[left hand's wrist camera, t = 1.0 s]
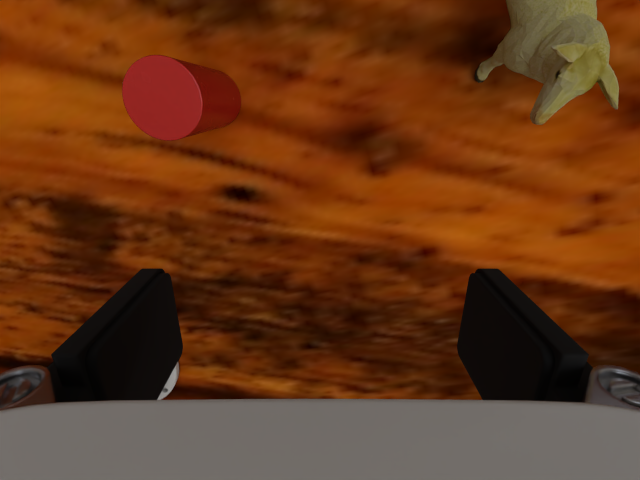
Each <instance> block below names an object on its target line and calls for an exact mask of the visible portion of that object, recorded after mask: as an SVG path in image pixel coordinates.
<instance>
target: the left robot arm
mask: <svg viewBox="0 0 640 480" xmlns="http://www.w3.org/2000/svg"><path fill="white" fill-rule="evenodd" d="M182 349H183V344H182V338H181V332H180V327H179V321H178V315H177V310H176V304H175V298H174V293H173V287H172V281H171V277H170V275H169V274H168V273H165V272H164V270H163V269H141V270H140V271H139V272H138V273H137V274H136V275H135V276H134V277H133V278H132V279H131V280H129V281H128V282H127V283H126V284H125V285H124V286H123V287H122V288H121V289H120V290H119V291H118V292H117V293H116V294H115V295H114V296H113V297H112V298H110V299H109V300H108V301H107V302H106V303H105V304H104V305H103V306H102V307H101V308H100V309H99V310H98V311H97V312H96V313H95V314H94V315H93V316H91V317H90V318H89V319H88V320H87V321H86V322H85V323H84V324H83V325H82V326H81V327H80V328H79V329H78V330H77V331H76V332H75V333H74V334H72V335H71V336H70V337H69V338H68V339H67V340H66V341H65V342H64V343H63V344H62V345H61V346H60V347H59V348H58V349H57V350H56V351H55V352H53V353H52V354H51V355H52V358H53V362H52V363H51V364H50V365H49V366H48V367H47V368H45V367H43V366H38V365H29V366H22V367H18V368H14V369H11V370H8V371H5V372H3V373H1V374H0V480H640V374H639V373H637V372H635V371H632V370H629V369H626V368H622V367H618V366H611V365H602V366H597V367H595V368H593V367H592V366H591V365H590V364H589V363H588V362H587V358H588V355H589V354H588V353H587V352H585V351H584V350H583V349H582V348H581V347H580V346H579V345H578V344H577V343H576V342H575V341H574V340H573V339H572V338H571V337H570V336H569V335H568V334H566V333H565V332H564V331H563V330H562V329H561V328H560V327H559V326H558V325H557V324H556V323H555V322H554V321H553V320H552V319H551V318H550V317H549V316H547V315H546V314H545V313H544V312H543V311H542V310H541V309H540V308H539V307H538V306H537V305H536V304H535V303H534V302H533V301H532V300H531V299H530V298H528V297H527V296H526V295H525V294H524V293H523V292H522V291H521V290H520V289H519V288H518V287H517V286H516V285H515V284H514V283H513V282H512V281H511V280H509V279H508V278H507V277H506V276H505V275H504V274H503V273H502V272H501V271H500V270H499V269H477V270H476V272H475V273H472V274H471V275H470V277H469V281H468V287H467V293H466V298H465V304H464V310H463V315H462V321H461V327H460V332H459V338H458V344H457V349H458V354H459V357H460V359H461V360H462V362H463V364H464V366H465V368H466V370H467V372H468V373H469V375H470V377H471V379H472V381H473V383H474V384H475V386H476V388H477V390H478V392H479V394H480V395H481V397H482V399H483V400H409V399H223V400H161V399H162V398H164V397H166V396H167V395H168V394H169V393H170V392H171V390H172V389H173V387H174V385H175V384H176V381H177V379H178V375H179V363H178V360H179V359H180V357H181V354H182Z"/></svg>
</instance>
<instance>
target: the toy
mask: <svg viewBox="0 0 640 480" xmlns="http://www.w3.org/2000/svg"><path fill="white" fill-rule="evenodd" d="M506 3H507V8H508V12H509V16H510V21H511V28H510V31H509V32H508V33H507V35H506V36H505V37H504V40H503V41H502V42H501V43H500V44H499V45H498V48H497V50H496V51H495V53H494V55H493V56H492V57H491V58H489V59H488V60H486V61H484V62H482V63H481V64H480V65H479V67H478V68H477V70H476V73H475V80H476V81H477V82H478V83H480V82H483V81H484V80H485V79H486V78H487V76H488V74H489V73H490V71H491V70H493V68H494V67H496V66H500V65H502V64H505V65H506V67H507V68H508V69H510V70H512V71H514V72H517V73H521V74H523V75H525V76H527V77H530V78H533V79H535V80H537V81H539V82H541V83H543V84H544V85H543V87H542V89H541V91H540V94H539V96H538V98H537V100H536V102H535V104H534V107H533V109H532V111H531V114H530V119H531V121H532V123H534V124H539V125H542V124H544V123H545V122H546V121H547V120H548V119H549V118H550V117H551V116H552V115H553V114H554V113H555V112H557V111H558V110H559V109H560V108H561V107H563V106H564V105H565V104H566V103H567V102H569V101H570V100H571V99H573V98H574V97H576V96H577V95H581V94H584V93H585V92H586V91H588V90H589V89H591V88H592V86H593V85H594V84H595V83H596V82H598V84H599V86H600V88H601V90H602V92H603V94H604V95H605V97H606V99H607V100H608V102H609V103H610V105H611V106H612V107H613V108H615V109H618V93H619V86H618V82H617V78H616V76H615V74H614V72H613V70H612V68H611V67H610V65H609V64H608V63H609V52H610V45H609V41H608V37H607V33H606V31H605V29H604V27H603V25H602V23H600V22H599V21H597V7H596V0H506Z"/></svg>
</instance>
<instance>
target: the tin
mask: <svg viewBox="0 0 640 480" xmlns="http://www.w3.org/2000/svg"><path fill="white" fill-rule="evenodd" d="M122 94H123V101H124V105H125V108H126V110H127V112H128V114H129V116H130V118H131V119H132V120H133V122H134V123H135V124H136V125H137V126H138V127H139V128H140V129H141V130H142V131H144V132H145V133H146V134H148V135H150V136H152V137H154V138H157V139H160V140H167V141H172V140H178V139H181V138H185V137H188V136H192V135H196V134H199V133H203V132H206V131H210V130H213V129H217V128H220V127H224V126H226V125H228V124H230V123H231V122H232V121H234V119H235V118H236V117H237V115H238V113H239V110H240V106H241V97H240V93H239V90H238V87H237V86H236V84H235V82H234V81H233V80H232V79H231V78H230V77H229V76H228V75H226V74H225V73H223V72H221V71H218V70H214V69H211V68H207V67H204V66H200V65H196V64H193V63H189V62H185V61H182V60H178V59H174V58H171V57H167V56H162V55H150V56H146V57H143V58H141V59H139V60H137V61H136V62H135V63H134V64H133V65H132V66H131V67H130V68H129V69H128V71H127V73H126V75H125V78H124V81H123V88H122Z"/></svg>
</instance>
